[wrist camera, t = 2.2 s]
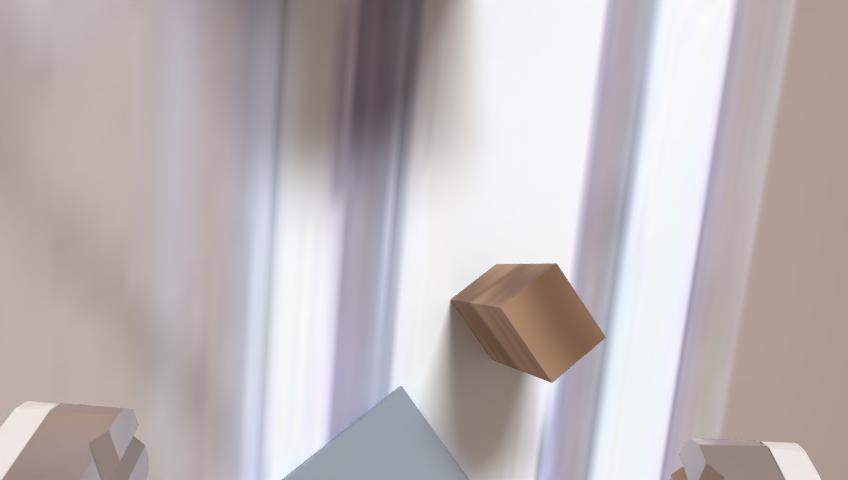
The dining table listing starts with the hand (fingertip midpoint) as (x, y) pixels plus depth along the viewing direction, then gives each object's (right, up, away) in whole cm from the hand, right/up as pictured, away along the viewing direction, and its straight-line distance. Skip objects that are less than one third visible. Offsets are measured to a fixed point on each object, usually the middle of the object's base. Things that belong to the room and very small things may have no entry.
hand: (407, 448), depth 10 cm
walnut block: (+5, -2, +34) cm, 34 cm away
